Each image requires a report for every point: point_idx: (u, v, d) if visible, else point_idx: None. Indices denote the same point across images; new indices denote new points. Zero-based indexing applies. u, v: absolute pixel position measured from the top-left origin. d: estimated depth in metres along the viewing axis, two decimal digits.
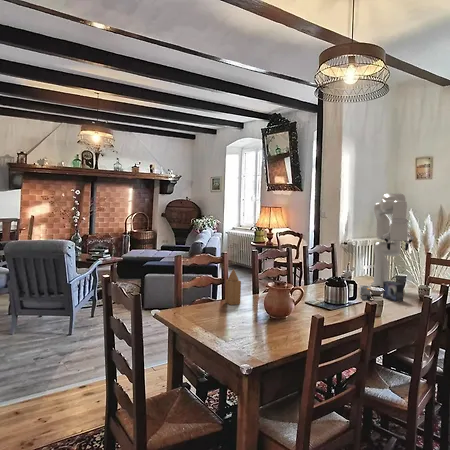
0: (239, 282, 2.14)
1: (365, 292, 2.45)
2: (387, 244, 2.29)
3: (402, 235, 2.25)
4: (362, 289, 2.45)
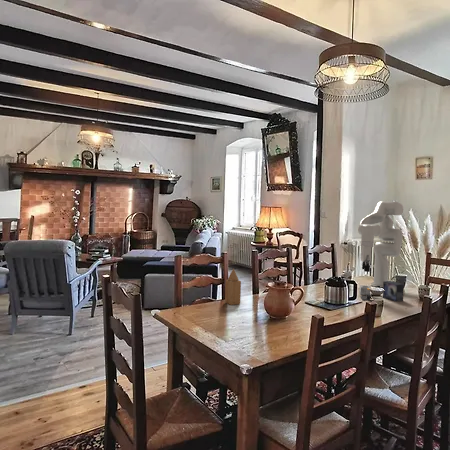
0: (239, 282, 2.14)
1: (365, 292, 2.45)
2: (368, 267, 2.41)
3: None
4: (362, 289, 2.45)
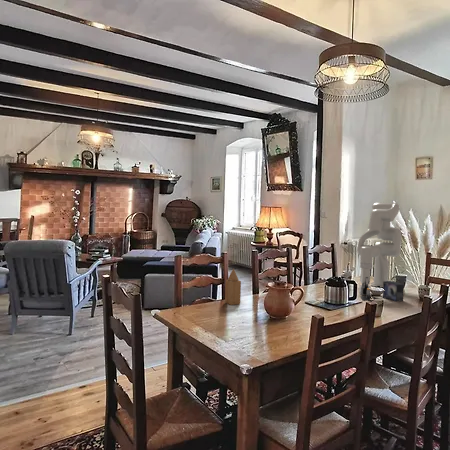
0: (239, 282, 2.14)
1: None
2: (366, 289, 2.43)
3: None
4: (362, 289, 2.45)
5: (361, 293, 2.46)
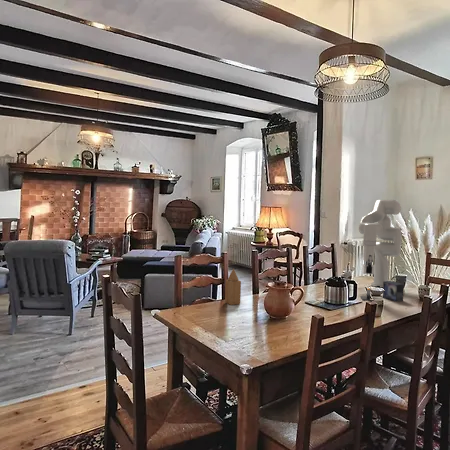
0: (239, 282, 2.14)
1: None
2: (370, 268, 2.33)
3: None
4: (365, 268, 2.35)
5: (364, 272, 2.35)
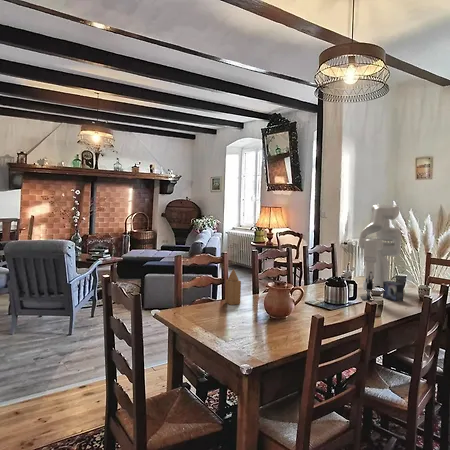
0: (239, 282, 2.14)
1: None
2: (370, 285, 2.29)
3: None
4: (366, 284, 2.31)
5: (365, 288, 2.31)
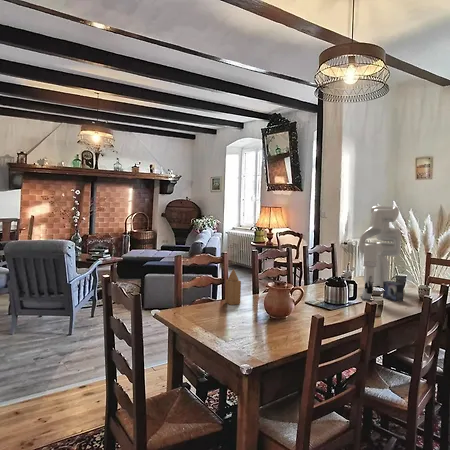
0: (239, 282, 2.14)
1: (369, 296, 2.31)
2: (371, 288, 2.28)
3: None
4: (365, 293, 2.32)
5: (364, 297, 2.32)
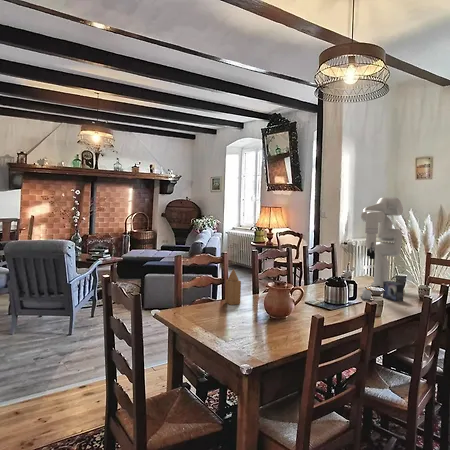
0: (239, 282, 2.14)
1: (369, 296, 2.31)
2: (373, 254, 2.39)
3: None
4: (365, 293, 2.32)
5: (364, 297, 2.32)
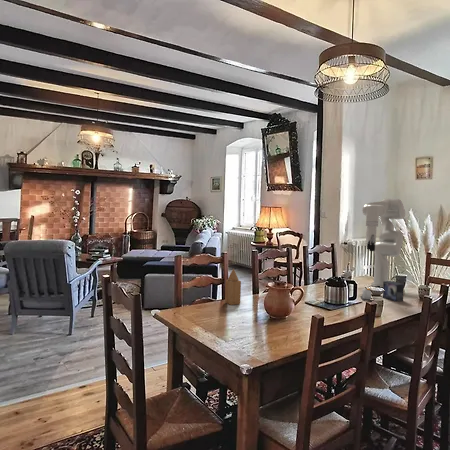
0: (239, 282, 2.14)
1: (369, 296, 2.31)
2: (373, 246, 2.44)
3: None
4: (365, 293, 2.32)
5: (364, 297, 2.32)
